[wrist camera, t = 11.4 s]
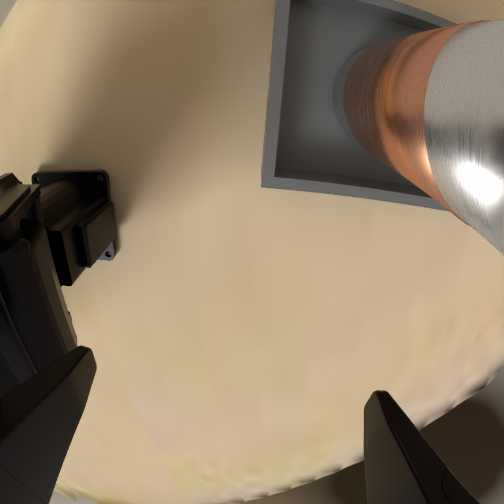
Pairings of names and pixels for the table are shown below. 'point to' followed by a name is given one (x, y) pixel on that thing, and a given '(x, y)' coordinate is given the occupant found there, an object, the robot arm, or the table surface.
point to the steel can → (435, 116)
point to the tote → (330, 98)
